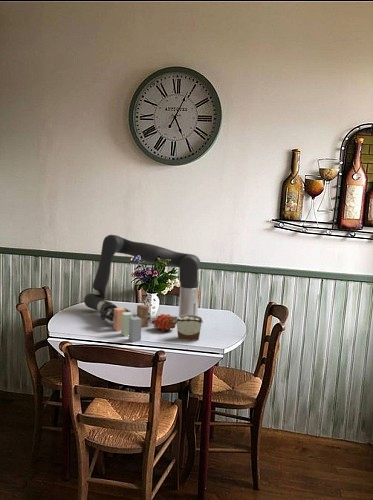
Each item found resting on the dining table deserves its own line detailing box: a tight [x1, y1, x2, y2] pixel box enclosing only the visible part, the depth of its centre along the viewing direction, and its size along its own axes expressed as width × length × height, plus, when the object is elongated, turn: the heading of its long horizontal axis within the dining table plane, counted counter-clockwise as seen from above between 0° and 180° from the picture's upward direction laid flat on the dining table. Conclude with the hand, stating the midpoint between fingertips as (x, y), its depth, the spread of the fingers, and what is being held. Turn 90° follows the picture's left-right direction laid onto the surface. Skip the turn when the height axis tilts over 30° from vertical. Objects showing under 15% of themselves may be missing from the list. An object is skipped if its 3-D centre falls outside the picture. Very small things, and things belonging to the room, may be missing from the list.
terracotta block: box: [113, 306, 127, 332], centre depth 216 cm, size 4×4×10 cm
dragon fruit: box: [151, 313, 177, 332], centre depth 219 cm, size 8×8×12 cm
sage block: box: [120, 311, 134, 337], centre depth 210 cm, size 4×4×10 cm
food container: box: [175, 315, 204, 341], centre depth 210 cm, size 12×6×10 cm, turn 92°
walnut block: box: [136, 304, 149, 329], centre depth 223 cm, size 4×4×10 cm
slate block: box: [128, 316, 142, 343], centre depth 203 cm, size 4×4×10 cm
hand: (121, 318), depth 215 cm, fingers open, 8 cm apart
